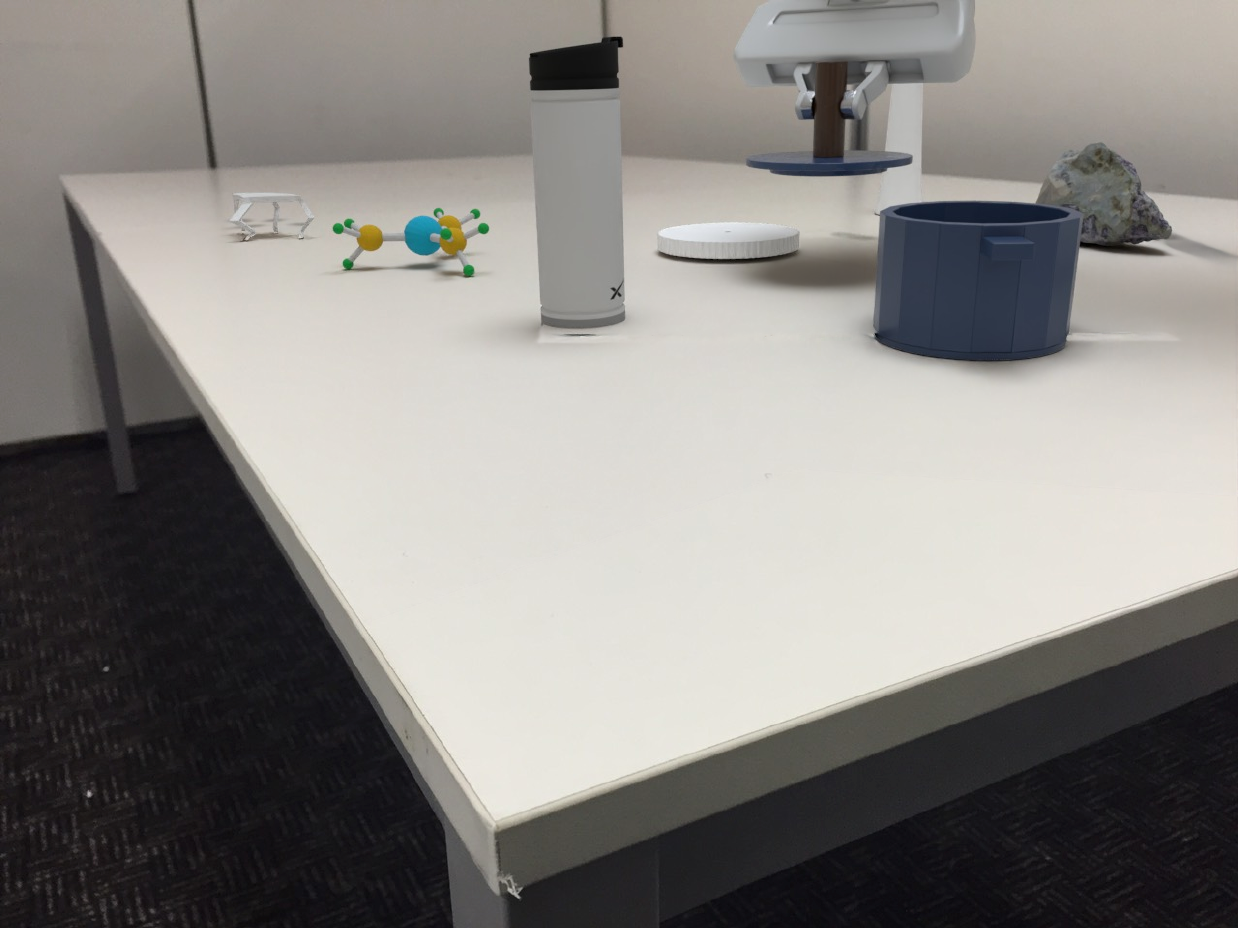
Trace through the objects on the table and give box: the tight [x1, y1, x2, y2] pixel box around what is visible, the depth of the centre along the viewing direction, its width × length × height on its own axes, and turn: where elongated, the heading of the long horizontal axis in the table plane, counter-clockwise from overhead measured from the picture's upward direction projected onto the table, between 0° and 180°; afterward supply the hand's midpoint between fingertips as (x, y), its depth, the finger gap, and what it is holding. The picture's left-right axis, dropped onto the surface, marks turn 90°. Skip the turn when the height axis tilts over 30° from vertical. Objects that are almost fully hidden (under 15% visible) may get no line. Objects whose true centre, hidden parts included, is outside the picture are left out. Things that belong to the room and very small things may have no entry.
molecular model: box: [332, 207, 490, 277], centre depth 105 cm, size 16×5×15 cm
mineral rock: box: [1035, 141, 1173, 247], centre depth 107 cm, size 13×11×10 cm
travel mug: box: [528, 36, 626, 336], centre depth 76 cm, size 6×7×20 cm
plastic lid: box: [656, 221, 800, 260], centre depth 107 cm, size 14×14×2 cm
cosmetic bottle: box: [874, 83, 924, 216], centre depth 131 cm, size 6×6×22 cm
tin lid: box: [745, 61, 913, 178], centre depth 89 cm, size 14×14×9 cm
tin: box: [872, 200, 1084, 361], centre depth 72 cm, size 13×18×8 cm
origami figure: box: [229, 192, 315, 239], centre depth 127 cm, size 12×8×5 cm
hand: (827, 114), depth 89 cm, fingers closed on tin lid, 2 cm apart
